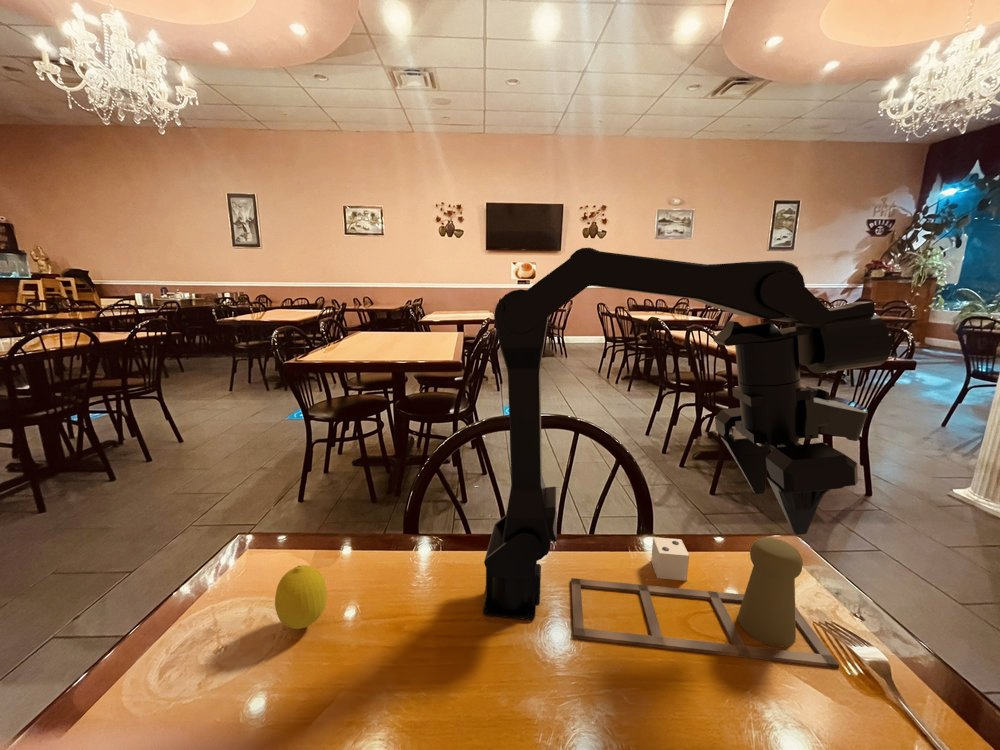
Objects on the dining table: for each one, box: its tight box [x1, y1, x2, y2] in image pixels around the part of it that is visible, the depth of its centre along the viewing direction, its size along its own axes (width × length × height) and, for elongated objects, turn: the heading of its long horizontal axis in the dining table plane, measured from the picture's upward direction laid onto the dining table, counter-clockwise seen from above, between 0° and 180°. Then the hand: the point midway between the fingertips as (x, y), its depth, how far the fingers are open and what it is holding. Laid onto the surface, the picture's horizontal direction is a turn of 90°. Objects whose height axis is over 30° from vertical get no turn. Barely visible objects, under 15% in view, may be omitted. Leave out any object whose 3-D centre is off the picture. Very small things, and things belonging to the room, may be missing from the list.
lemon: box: [274, 564, 328, 630], centre depth 50 cm, size 6×6×8 cm
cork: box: [736, 537, 804, 648], centre depth 51 cm, size 6×6×11 cm
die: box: [650, 536, 690, 582], centre depth 62 cm, size 4×4×4 cm
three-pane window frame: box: [570, 577, 840, 669], centre depth 53 cm, size 28×10×1 cm, turn 82°
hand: (777, 511), depth 49 cm, fingers open, 9 cm apart
